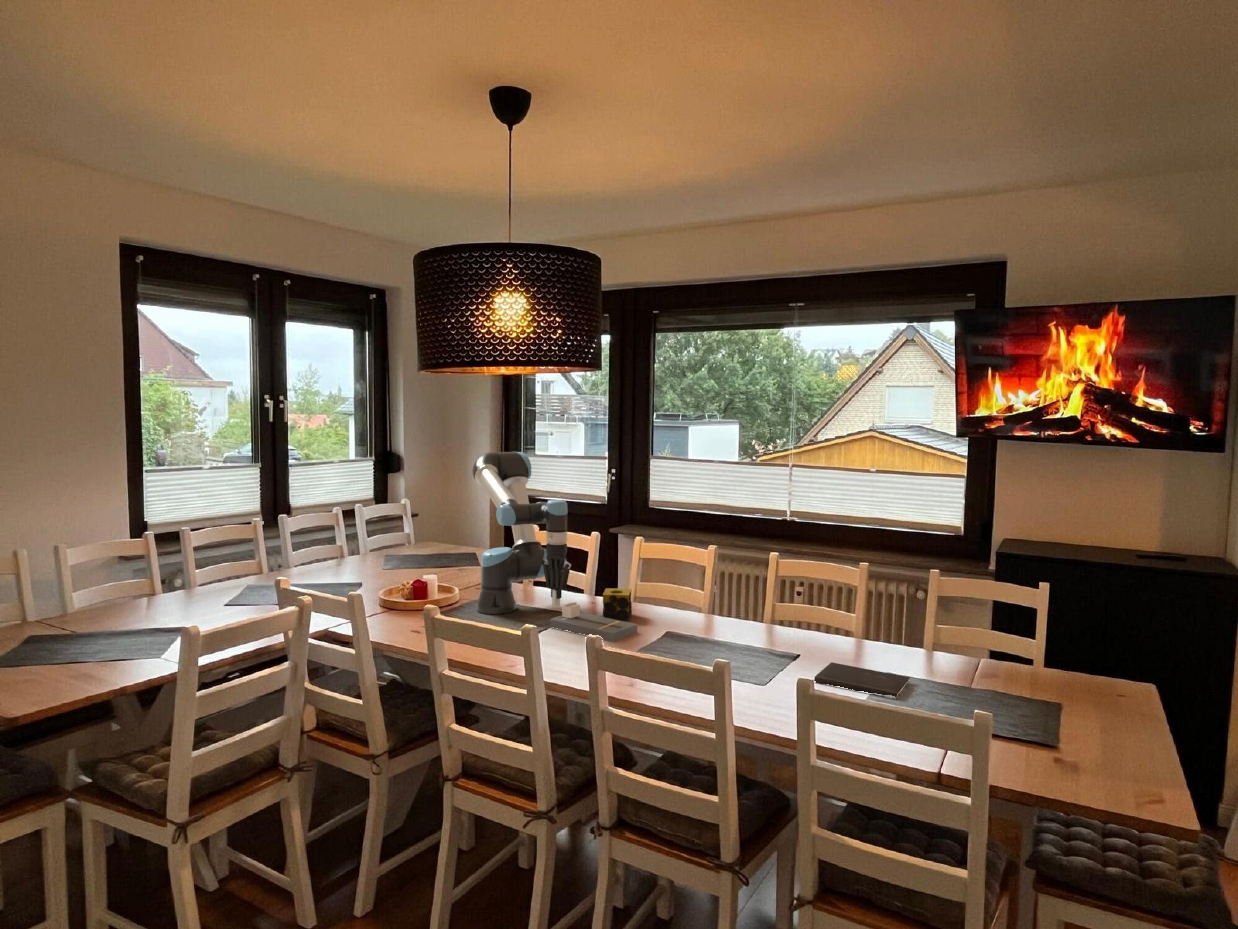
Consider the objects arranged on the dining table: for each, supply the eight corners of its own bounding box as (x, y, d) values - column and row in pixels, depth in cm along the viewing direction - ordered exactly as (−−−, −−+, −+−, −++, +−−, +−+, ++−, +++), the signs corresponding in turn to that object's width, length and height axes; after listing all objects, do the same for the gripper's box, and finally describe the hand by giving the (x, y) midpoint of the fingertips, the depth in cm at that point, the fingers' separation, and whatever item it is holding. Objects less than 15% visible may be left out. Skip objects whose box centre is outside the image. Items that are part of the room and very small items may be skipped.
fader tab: (562, 616, 276) (562, 604, 276) (571, 613, 280) (571, 601, 280) (570, 618, 274) (571, 605, 273) (579, 615, 278) (579, 603, 277)
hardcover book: (830, 669, 236) (831, 662, 236) (909, 685, 223) (909, 677, 223) (813, 684, 222) (814, 676, 222) (896, 701, 210) (896, 693, 210)
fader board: (549, 627, 274) (549, 618, 274) (574, 619, 285) (574, 610, 285) (613, 642, 258) (613, 633, 257) (637, 632, 269) (637, 624, 269)
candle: (631, 614, 293) (632, 588, 292) (629, 621, 283) (630, 595, 282) (605, 613, 294) (605, 587, 293) (602, 620, 284) (602, 594, 283)
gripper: (536, 542, 280) (535, 606, 281) (564, 546, 272) (563, 612, 274) (549, 539, 286) (549, 602, 288) (577, 543, 278) (576, 607, 280)
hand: (556, 606), depth 281 cm, fingers closed
